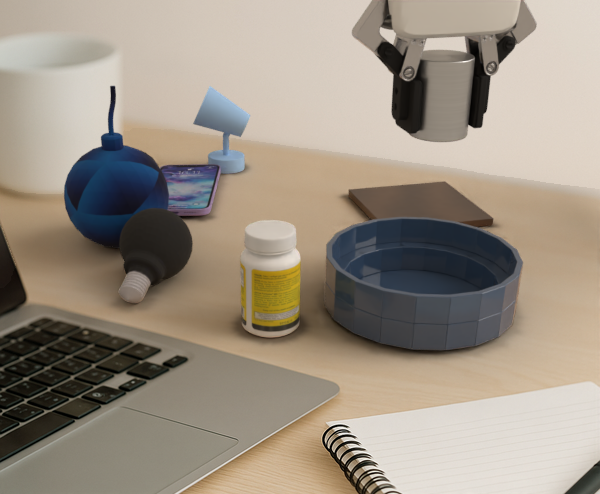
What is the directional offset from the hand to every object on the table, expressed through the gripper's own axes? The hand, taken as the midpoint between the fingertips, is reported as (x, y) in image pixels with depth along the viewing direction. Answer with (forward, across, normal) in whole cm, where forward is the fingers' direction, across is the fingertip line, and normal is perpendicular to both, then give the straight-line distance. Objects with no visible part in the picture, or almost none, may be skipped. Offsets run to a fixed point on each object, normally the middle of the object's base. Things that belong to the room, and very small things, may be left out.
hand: (438, 123), depth 64 cm
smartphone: (+15, +16, -31) cm, 38 cm away
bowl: (+15, +1, +1) cm, 16 cm away
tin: (+1, 0, 0) cm, 1 cm away
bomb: (+15, +24, -19) cm, 34 cm away
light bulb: (+15, +22, -9) cm, 28 cm away
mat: (+16, -8, -20) cm, 27 cm away
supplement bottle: (+15, +14, +1) cm, 21 cm away
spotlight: (+16, +10, -39) cm, 43 cm away
